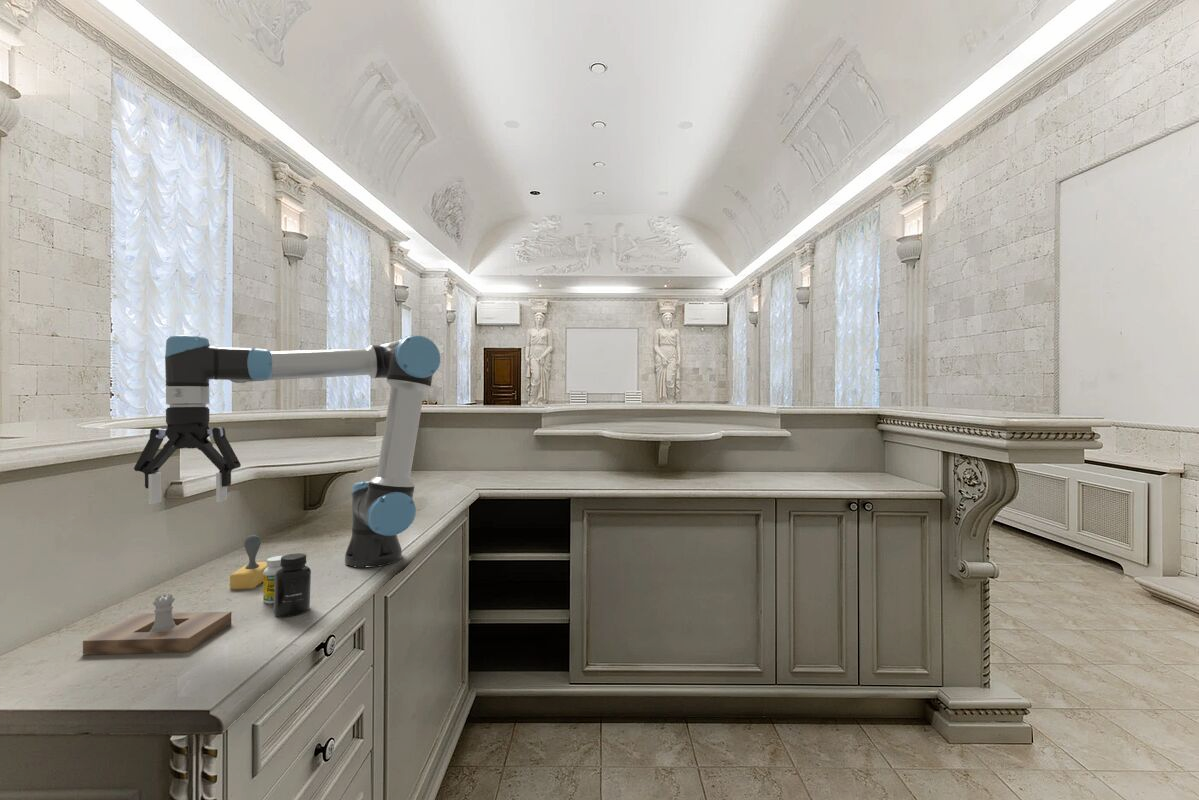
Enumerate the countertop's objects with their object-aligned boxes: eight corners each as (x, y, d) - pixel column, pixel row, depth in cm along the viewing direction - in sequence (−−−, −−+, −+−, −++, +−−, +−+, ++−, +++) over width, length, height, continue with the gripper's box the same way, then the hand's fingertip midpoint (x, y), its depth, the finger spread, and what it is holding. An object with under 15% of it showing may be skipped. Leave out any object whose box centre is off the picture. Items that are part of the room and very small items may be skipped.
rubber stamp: (249, 576, 134) (249, 530, 134) (273, 575, 135) (273, 529, 136) (229, 589, 125) (229, 540, 125) (255, 588, 126) (256, 539, 126)
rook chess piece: (143, 645, 95) (144, 602, 96) (153, 635, 100) (154, 594, 100) (173, 640, 97) (173, 598, 97) (181, 631, 101) (182, 590, 101)
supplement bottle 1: (290, 593, 122) (290, 553, 122) (291, 601, 117) (291, 559, 117) (262, 598, 119) (263, 557, 119) (262, 606, 114) (263, 563, 114)
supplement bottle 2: (289, 619, 107) (290, 562, 107) (266, 614, 109) (266, 558, 110) (317, 607, 114) (318, 553, 114) (295, 603, 116) (295, 550, 116)
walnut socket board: (231, 623, 105) (231, 611, 105) (188, 651, 93) (188, 638, 93) (138, 626, 104) (138, 613, 104) (82, 654, 92) (82, 640, 92)
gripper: (111, 406, 108) (112, 507, 108) (238, 405, 111) (239, 503, 110) (139, 406, 115) (140, 500, 115) (257, 405, 118) (258, 497, 118)
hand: (188, 502), depth 113 cm, fingers open, 13 cm apart
